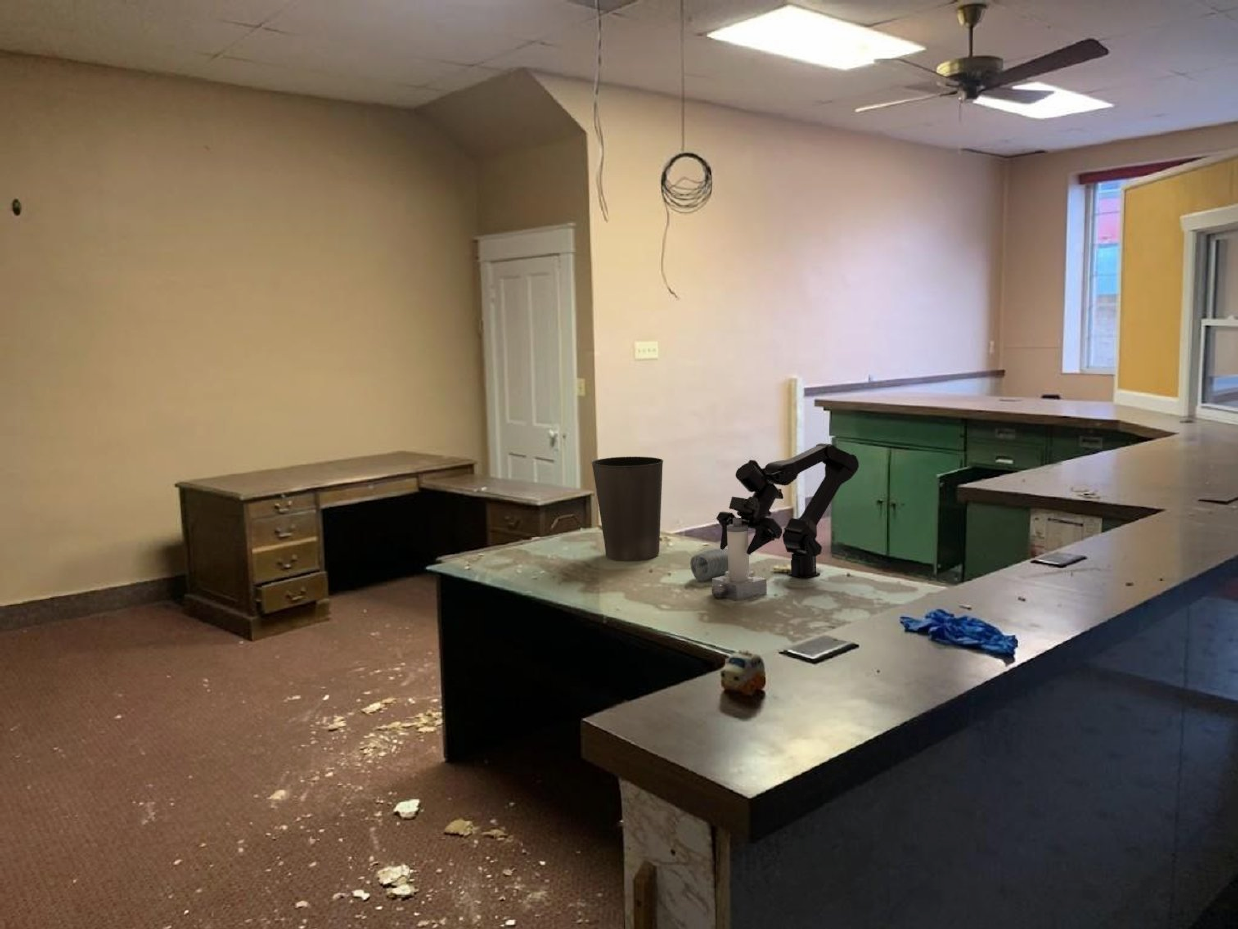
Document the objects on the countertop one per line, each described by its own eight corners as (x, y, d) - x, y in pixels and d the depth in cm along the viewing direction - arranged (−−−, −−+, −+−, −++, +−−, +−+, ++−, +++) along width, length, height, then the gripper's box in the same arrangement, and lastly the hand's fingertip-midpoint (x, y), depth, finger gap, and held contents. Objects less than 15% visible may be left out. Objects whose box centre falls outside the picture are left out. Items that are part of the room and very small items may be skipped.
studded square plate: (741, 586, 248) (741, 568, 248) (766, 593, 240) (766, 575, 239) (703, 595, 241) (702, 576, 241) (727, 603, 233) (727, 584, 232)
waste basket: (582, 553, 298) (577, 460, 294) (636, 543, 308) (631, 453, 304) (627, 568, 275) (621, 468, 271) (683, 557, 285) (678, 460, 281)
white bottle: (747, 575, 244) (745, 515, 242) (751, 580, 238) (750, 519, 236) (726, 576, 243) (724, 517, 241) (730, 582, 238) (728, 521, 236)
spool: (702, 575, 249) (699, 540, 253) (685, 584, 257) (682, 550, 261) (745, 579, 255) (741, 545, 259) (726, 588, 262) (723, 555, 266)
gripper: (719, 481, 247) (692, 529, 242) (773, 487, 233) (746, 538, 228) (740, 506, 253) (714, 553, 248) (794, 513, 239) (767, 563, 234)
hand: (734, 551), depth 239 cm, fingers open, 9 cm apart
